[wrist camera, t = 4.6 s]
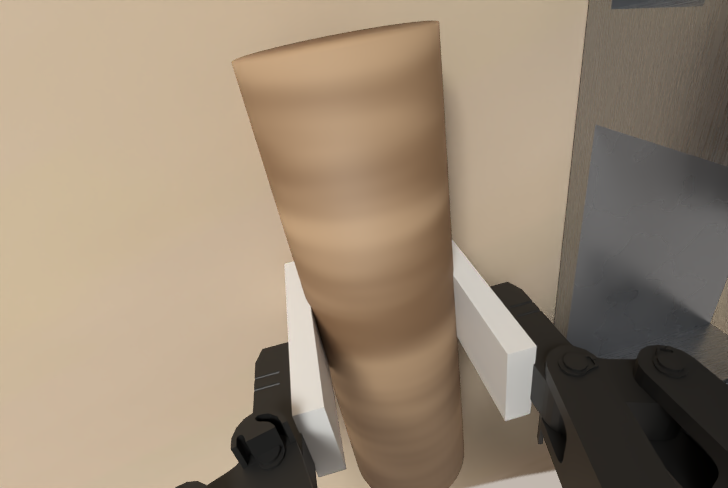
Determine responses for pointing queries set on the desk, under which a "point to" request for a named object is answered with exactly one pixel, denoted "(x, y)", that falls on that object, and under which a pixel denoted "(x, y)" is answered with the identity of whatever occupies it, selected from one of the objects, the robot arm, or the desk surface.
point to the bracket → (649, 183)
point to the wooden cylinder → (370, 233)
